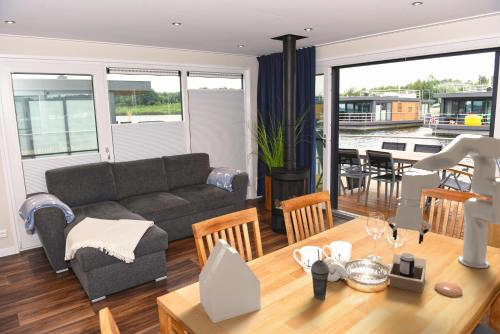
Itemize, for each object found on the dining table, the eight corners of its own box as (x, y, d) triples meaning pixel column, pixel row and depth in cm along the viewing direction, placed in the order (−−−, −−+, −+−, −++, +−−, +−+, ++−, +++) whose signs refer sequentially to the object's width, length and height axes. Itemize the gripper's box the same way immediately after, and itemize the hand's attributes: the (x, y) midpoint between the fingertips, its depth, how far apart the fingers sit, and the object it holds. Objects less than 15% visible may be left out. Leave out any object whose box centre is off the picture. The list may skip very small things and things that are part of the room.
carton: (393, 267, 168) (394, 254, 167) (425, 273, 161) (426, 259, 160) (385, 290, 148) (385, 274, 147) (421, 298, 142) (422, 282, 140)
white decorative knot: (356, 280, 157) (357, 261, 156) (336, 288, 151) (337, 268, 149) (337, 271, 167) (338, 252, 165) (318, 277, 160) (318, 259, 159)
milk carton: (213, 323, 129) (210, 258, 125) (200, 302, 143) (197, 243, 138) (260, 309, 137) (259, 247, 133) (244, 291, 151) (242, 234, 146)
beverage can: (414, 285, 152) (416, 258, 150) (400, 284, 153) (401, 258, 151) (411, 279, 157) (413, 253, 155) (397, 278, 158) (399, 252, 156)
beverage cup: (318, 303, 139) (318, 255, 136) (306, 295, 146) (307, 249, 142) (332, 298, 143) (333, 251, 139) (321, 290, 149) (321, 245, 146)
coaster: (435, 282, 154) (435, 280, 154) (462, 287, 149) (462, 285, 149) (433, 293, 145) (434, 290, 145) (462, 299, 140) (462, 296, 140)
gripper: (386, 201, 150) (384, 240, 153) (432, 206, 141) (429, 247, 144) (389, 197, 156) (387, 235, 159) (433, 202, 148) (430, 241, 151)
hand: (407, 241), depth 152 cm, fingers open, 9 cm apart
